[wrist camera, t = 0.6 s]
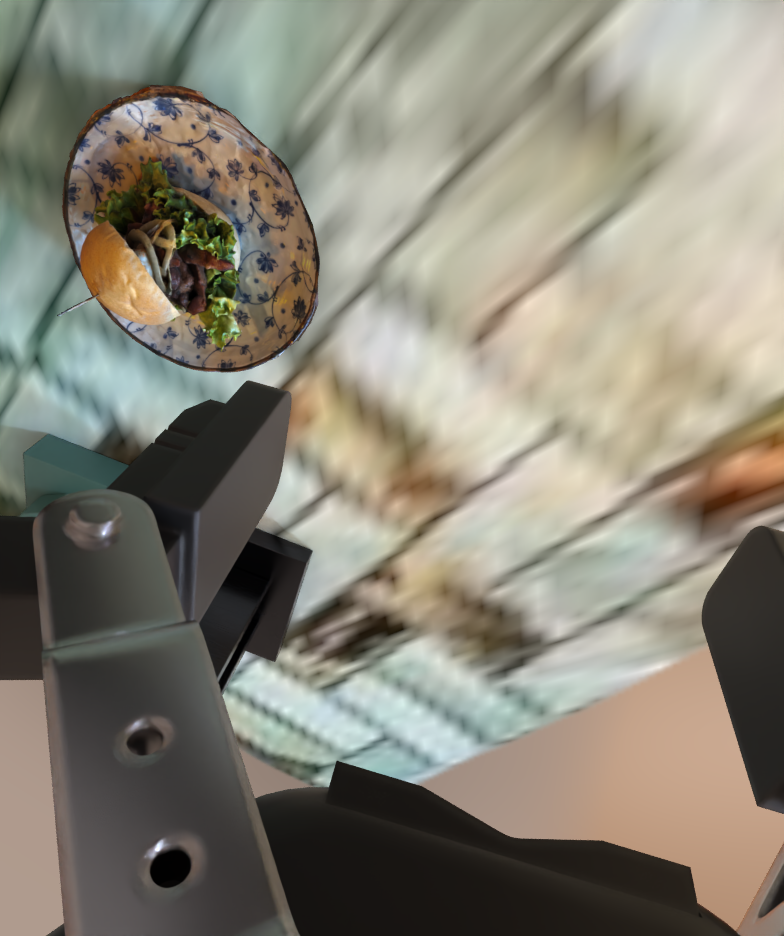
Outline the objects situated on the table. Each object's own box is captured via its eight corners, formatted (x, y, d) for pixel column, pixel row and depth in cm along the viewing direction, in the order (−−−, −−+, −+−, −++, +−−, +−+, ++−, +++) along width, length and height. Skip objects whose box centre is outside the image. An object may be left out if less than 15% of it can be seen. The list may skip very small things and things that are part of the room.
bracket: (313, 550, 38) (219, 741, 28) (281, 648, 44) (194, 836, 34) (188, 501, 38) (49, 674, 28) (173, 606, 44) (53, 781, 34)
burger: (344, 363, 31) (291, 444, 25) (128, 357, 34) (32, 428, 28) (310, 72, 24) (226, 85, 18) (44, 91, 27) (-106, 109, 21)
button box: (48, 433, 38) (-1, 470, 35) (158, 476, 38) (120, 518, 35) (51, 548, 44) (10, 589, 41) (147, 586, 44) (113, 630, 41)
